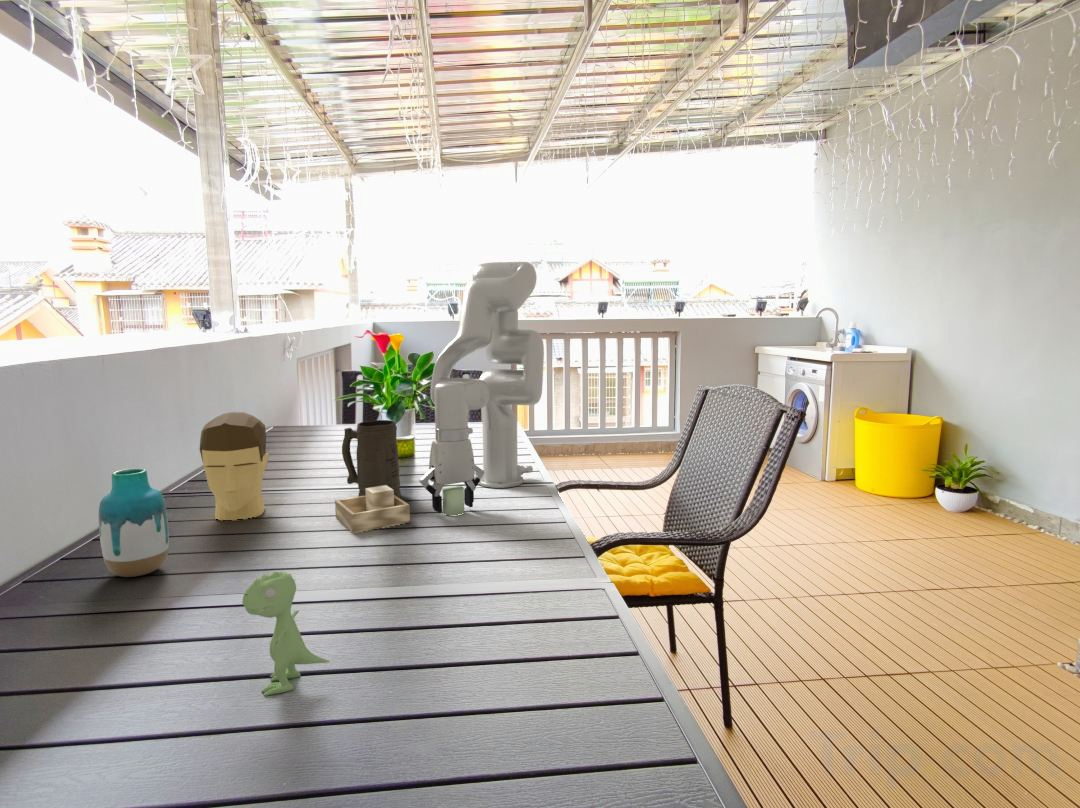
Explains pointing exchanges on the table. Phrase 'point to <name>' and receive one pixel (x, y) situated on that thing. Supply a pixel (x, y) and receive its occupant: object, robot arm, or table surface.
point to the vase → (133, 525)
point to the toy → (280, 627)
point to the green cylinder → (453, 500)
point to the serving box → (370, 514)
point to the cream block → (379, 497)
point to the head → (235, 464)
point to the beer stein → (373, 456)
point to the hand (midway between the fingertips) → (453, 508)
